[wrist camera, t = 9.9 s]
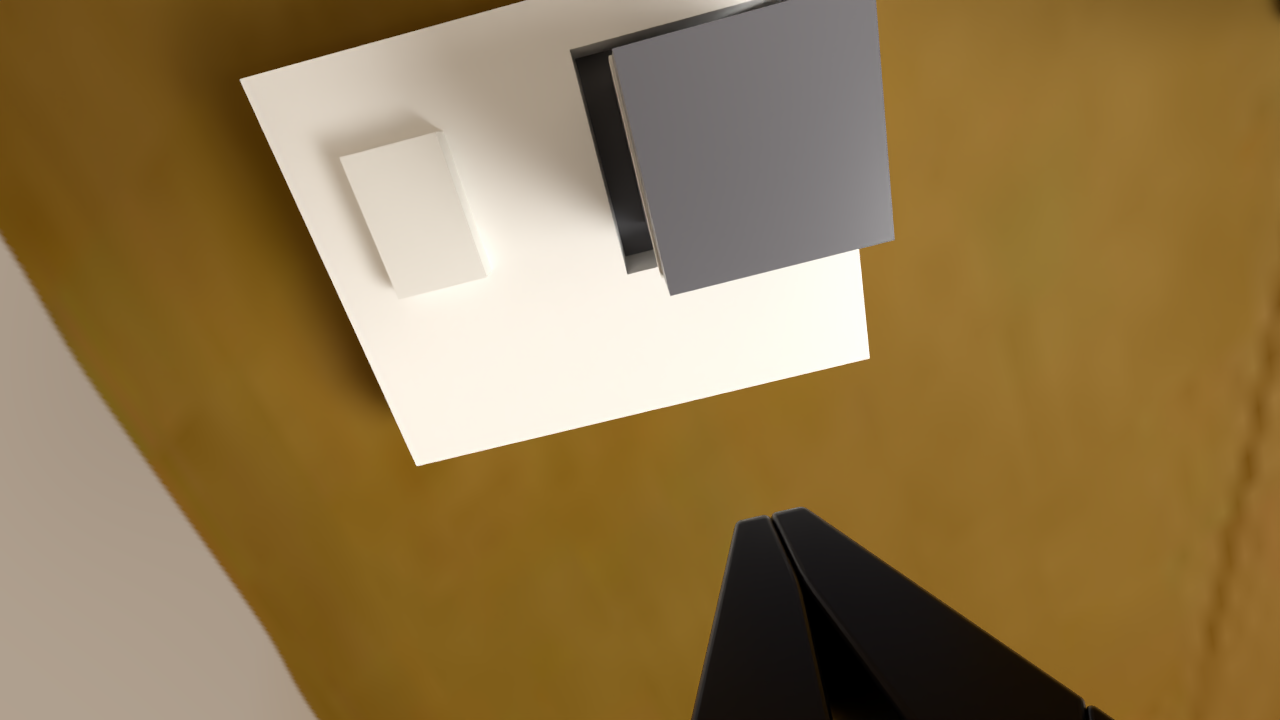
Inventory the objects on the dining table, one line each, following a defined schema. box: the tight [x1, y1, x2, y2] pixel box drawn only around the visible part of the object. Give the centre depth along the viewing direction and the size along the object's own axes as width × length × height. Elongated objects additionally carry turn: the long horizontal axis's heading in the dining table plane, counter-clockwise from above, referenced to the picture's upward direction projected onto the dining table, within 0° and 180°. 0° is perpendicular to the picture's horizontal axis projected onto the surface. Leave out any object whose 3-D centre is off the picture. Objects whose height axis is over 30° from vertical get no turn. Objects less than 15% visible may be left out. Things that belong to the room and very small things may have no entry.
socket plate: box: [239, 0, 870, 466], centre depth 16 cm, size 14×11×3 cm
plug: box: [609, 0, 895, 296], centre depth 13 cm, size 4×4×8 cm
